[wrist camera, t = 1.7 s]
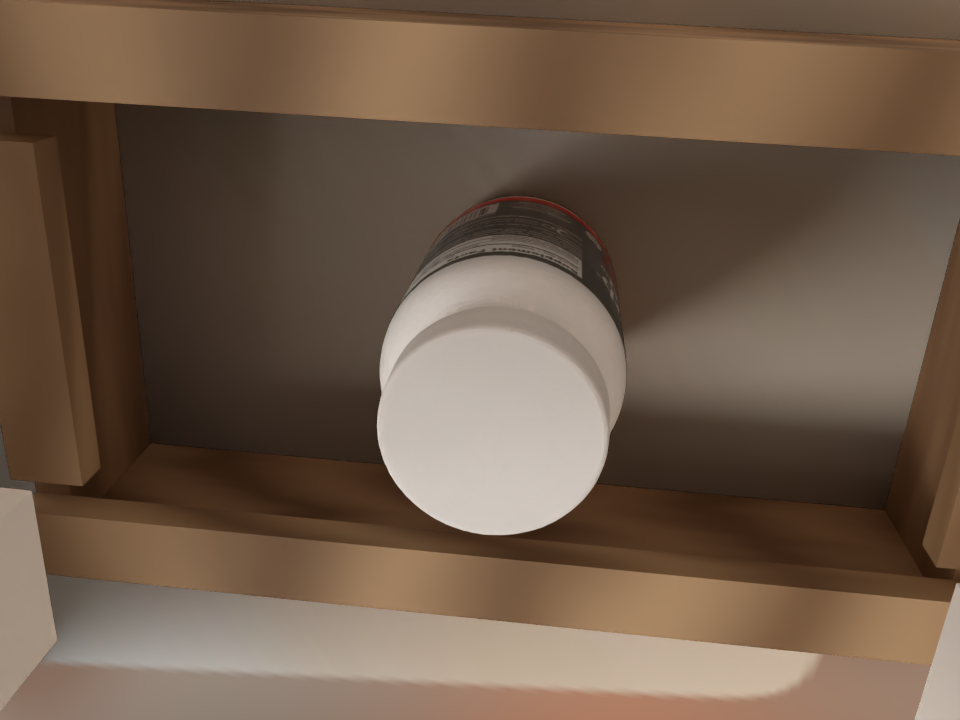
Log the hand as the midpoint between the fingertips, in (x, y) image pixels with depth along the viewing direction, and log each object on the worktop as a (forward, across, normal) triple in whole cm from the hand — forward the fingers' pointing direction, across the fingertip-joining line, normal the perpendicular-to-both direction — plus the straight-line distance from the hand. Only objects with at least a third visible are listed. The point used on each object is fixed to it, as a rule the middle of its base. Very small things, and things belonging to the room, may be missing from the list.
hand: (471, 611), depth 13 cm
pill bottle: (+15, 0, 0) cm, 15 cm away
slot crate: (+15, 0, 0) cm, 15 cm away
